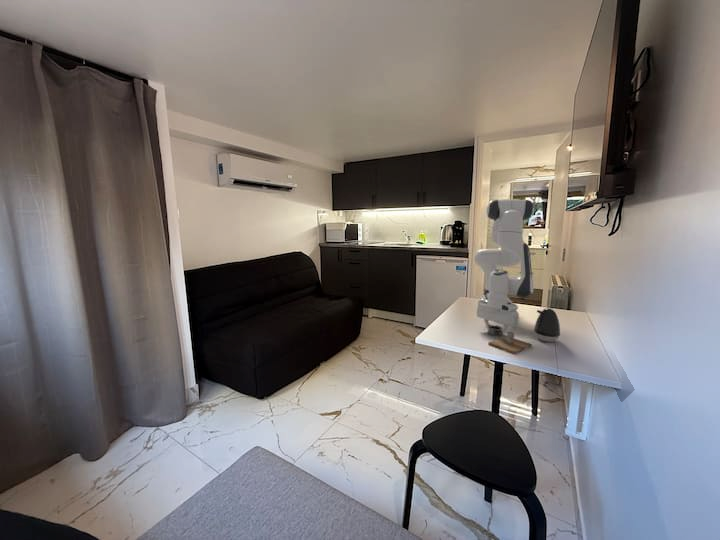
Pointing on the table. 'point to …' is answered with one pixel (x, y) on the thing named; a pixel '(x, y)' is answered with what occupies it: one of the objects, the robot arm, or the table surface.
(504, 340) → the piston stand
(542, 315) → the black rounded piece
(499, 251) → the robot arm
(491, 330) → the ring
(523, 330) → the table surface
